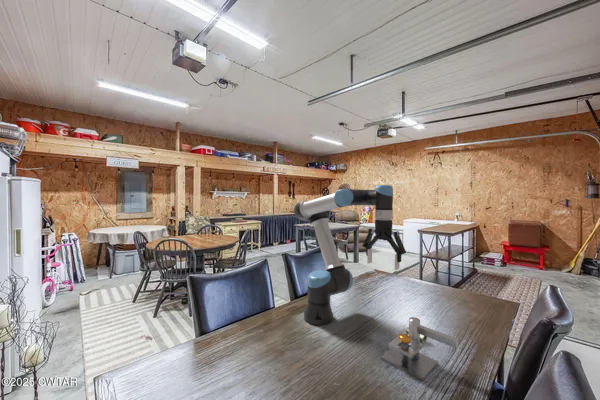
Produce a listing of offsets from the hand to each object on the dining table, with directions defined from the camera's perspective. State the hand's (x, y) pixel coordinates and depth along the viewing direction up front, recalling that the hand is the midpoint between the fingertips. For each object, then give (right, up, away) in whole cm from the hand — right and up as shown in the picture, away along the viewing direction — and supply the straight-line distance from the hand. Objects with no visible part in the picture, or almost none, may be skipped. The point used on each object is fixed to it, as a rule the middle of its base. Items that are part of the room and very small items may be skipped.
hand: (382, 266), depth 117 cm
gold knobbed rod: (+1, -31, -21) cm, 38 cm away
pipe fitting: (+13, -32, -3) cm, 35 cm away
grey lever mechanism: (+6, -32, -21) cm, 39 cm away
